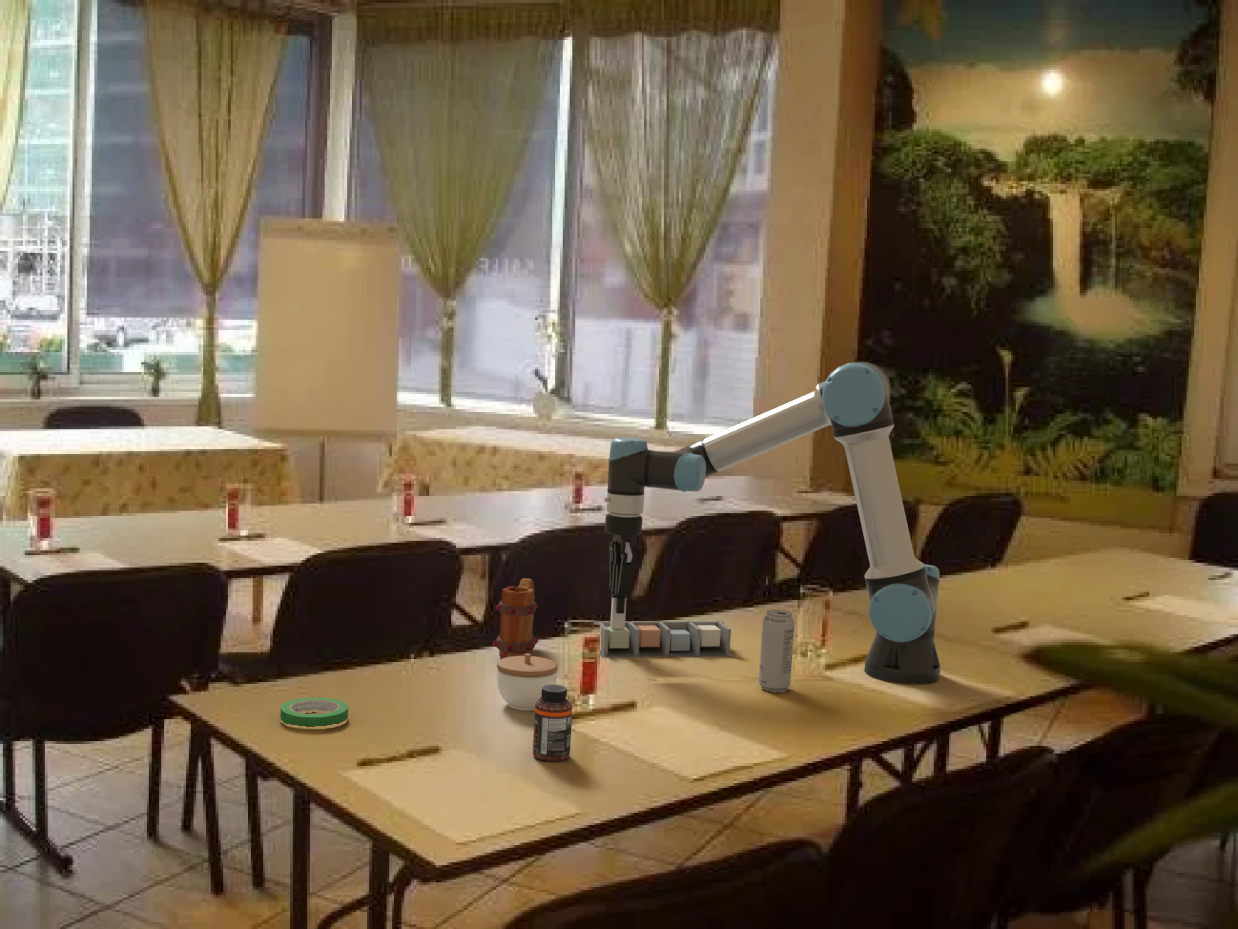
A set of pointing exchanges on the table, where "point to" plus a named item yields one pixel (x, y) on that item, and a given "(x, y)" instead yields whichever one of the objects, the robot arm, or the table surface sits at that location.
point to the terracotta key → (649, 636)
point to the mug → (517, 620)
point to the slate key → (679, 640)
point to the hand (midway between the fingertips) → (617, 627)
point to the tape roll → (314, 703)
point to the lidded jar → (524, 679)
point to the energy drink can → (776, 650)
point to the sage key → (618, 638)
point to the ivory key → (709, 635)
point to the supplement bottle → (552, 724)
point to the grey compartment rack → (666, 640)
